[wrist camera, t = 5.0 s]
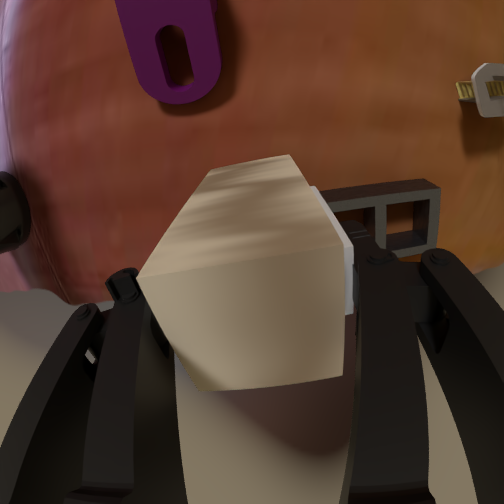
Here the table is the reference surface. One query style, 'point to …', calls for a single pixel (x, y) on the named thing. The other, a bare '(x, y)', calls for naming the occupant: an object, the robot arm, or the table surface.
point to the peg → (251, 280)
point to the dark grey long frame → (375, 212)
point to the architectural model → (485, 90)
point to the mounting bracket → (151, 51)
